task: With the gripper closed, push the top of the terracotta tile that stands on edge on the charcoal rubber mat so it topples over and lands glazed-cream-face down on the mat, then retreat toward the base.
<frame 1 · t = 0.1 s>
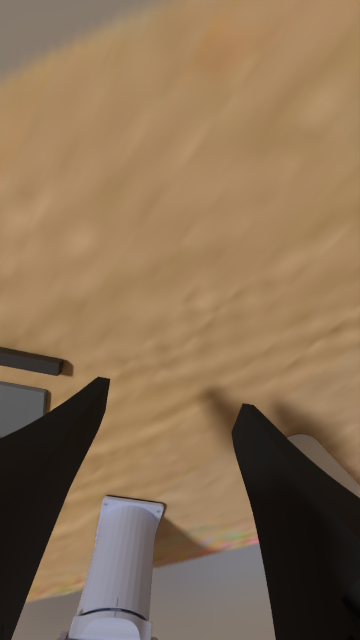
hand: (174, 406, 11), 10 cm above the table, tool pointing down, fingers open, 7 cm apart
dixie cup: (295, 450, 26), on the table
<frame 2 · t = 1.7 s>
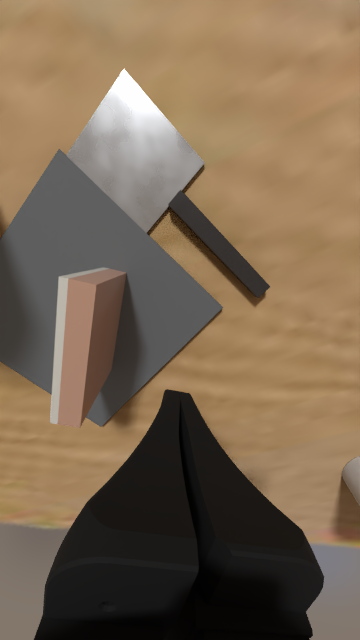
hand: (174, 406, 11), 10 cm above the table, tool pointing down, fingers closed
tile: (107, 322, 20), resting on mat
turner: (169, 195, 17), on the table
mat: (86, 314, 20), on the table
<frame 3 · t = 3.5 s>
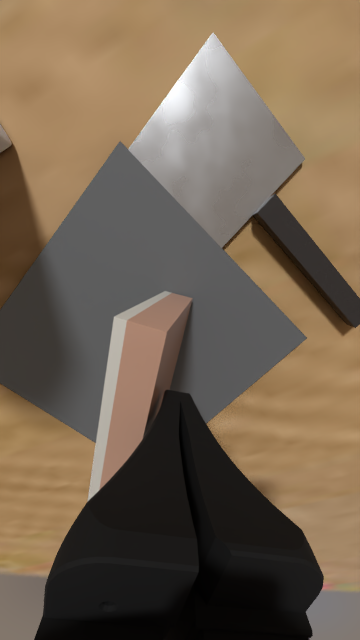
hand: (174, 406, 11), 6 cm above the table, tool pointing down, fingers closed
tile: (164, 357, 16), point 1 cm above the table, tilted 12°, touching gripper, mat
turner: (254, 201, 13), on the table
mat: (137, 346, 16), on the table
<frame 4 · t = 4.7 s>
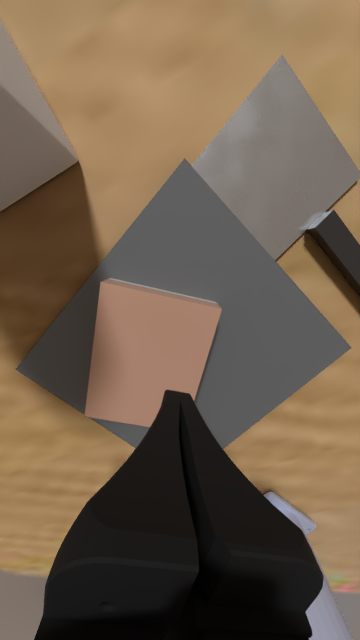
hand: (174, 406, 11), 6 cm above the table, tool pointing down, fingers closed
tile: (199, 369, 15), point 1 cm above the table, tilted 90°, touching mat
turner: (308, 215, 14), on the table
mat: (184, 355, 17), on the table
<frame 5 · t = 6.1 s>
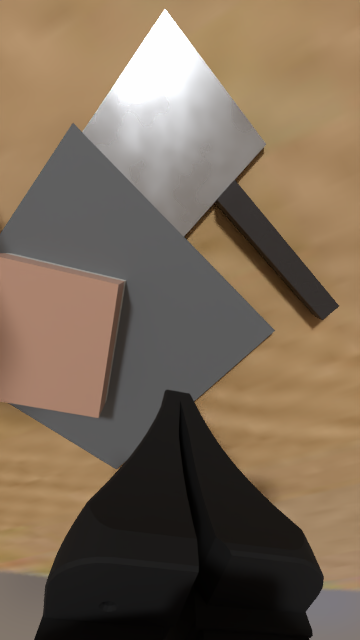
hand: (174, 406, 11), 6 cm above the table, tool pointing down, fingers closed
tile: (111, 351, 15), point 1 cm above the table, tilted 90°, touching mat
turner: (216, 188, 13), on the table
mat: (102, 338, 16), on the table
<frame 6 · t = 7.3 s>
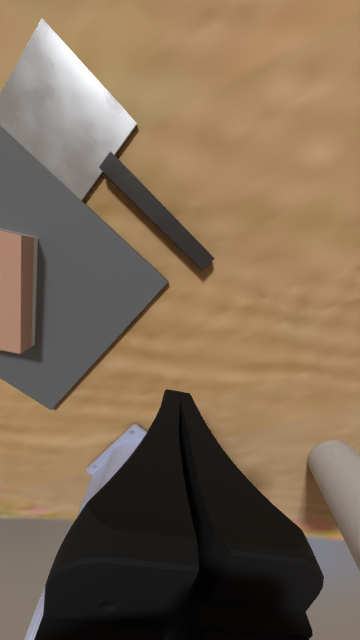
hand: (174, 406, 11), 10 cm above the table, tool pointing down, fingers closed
tile: (28, 297, 18), point 1 cm above the table, tilted 90°, touching mat
dixie cup: (328, 455, 27), on the table
turner: (103, 160, 16), on the table
mat: (26, 289, 19), on the table
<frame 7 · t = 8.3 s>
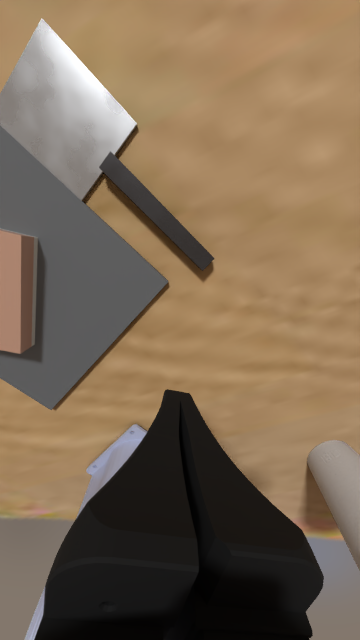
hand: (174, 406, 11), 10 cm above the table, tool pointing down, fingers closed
tile: (28, 297, 18), point 1 cm above the table, tilted 90°, touching mat
dixie cup: (328, 455, 27), on the table
turner: (103, 160, 16), on the table
mat: (26, 289, 19), on the table
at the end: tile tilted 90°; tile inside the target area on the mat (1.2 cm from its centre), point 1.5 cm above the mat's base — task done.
